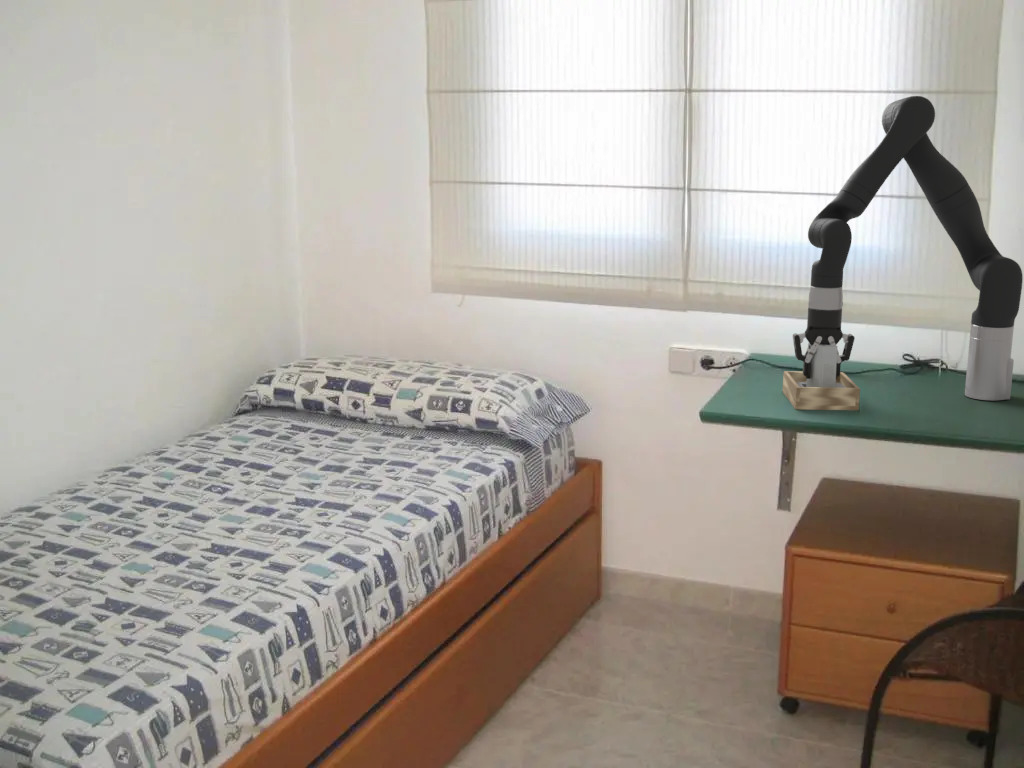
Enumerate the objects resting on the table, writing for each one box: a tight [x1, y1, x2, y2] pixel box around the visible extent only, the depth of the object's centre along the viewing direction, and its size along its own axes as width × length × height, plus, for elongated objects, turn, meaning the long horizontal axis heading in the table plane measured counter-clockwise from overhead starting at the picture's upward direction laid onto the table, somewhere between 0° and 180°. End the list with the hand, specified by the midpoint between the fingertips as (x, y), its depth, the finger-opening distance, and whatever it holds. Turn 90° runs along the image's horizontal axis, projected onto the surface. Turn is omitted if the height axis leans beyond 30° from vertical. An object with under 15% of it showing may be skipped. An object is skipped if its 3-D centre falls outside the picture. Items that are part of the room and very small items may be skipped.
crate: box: [782, 370, 861, 411], centre depth 260 cm, size 14×18×5 cm
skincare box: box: [806, 342, 838, 388], centre depth 259 cm, size 6×4×12 cm
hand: (821, 377), depth 260 cm, fingers closed on skincare box, 5 cm apart
